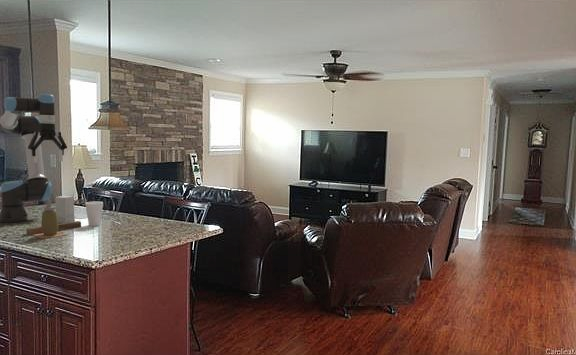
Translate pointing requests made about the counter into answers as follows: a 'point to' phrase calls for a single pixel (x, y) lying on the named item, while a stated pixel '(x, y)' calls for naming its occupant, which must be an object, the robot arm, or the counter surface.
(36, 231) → the rail
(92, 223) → the foam cup
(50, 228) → the squeeze bottle
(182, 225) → the counter surface
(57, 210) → the skincare box
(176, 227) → the counter surface
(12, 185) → the robot arm
